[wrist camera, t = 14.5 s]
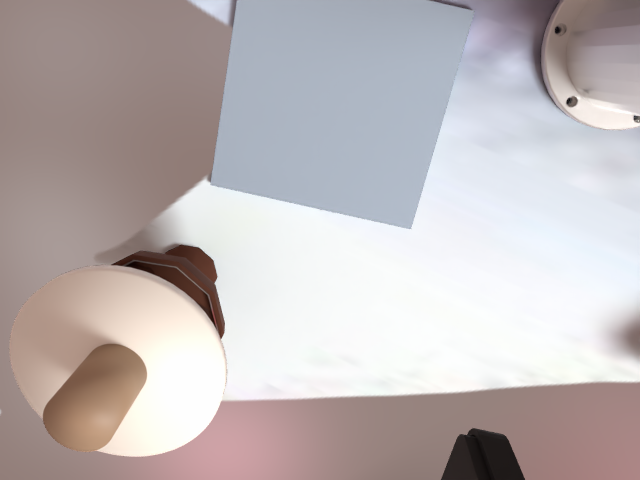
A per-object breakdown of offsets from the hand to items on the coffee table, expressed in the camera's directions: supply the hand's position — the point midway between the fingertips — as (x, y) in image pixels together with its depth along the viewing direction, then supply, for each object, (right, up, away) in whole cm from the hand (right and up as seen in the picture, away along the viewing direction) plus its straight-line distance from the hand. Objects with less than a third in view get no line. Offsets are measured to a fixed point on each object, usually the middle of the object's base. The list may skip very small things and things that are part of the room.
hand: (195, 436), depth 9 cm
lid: (-11, -5, +25) cm, 28 cm away
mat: (+3, +15, +33) cm, 36 cm away
